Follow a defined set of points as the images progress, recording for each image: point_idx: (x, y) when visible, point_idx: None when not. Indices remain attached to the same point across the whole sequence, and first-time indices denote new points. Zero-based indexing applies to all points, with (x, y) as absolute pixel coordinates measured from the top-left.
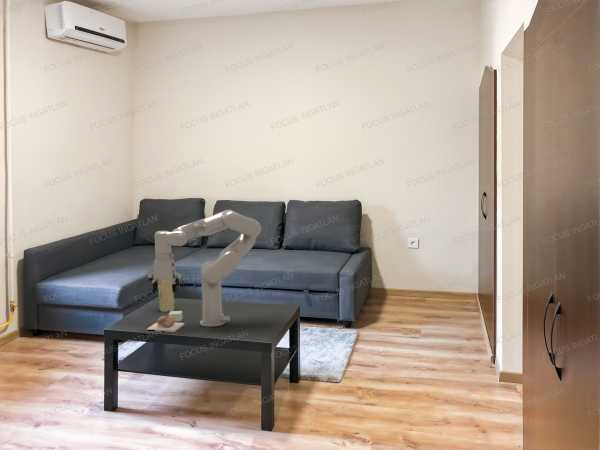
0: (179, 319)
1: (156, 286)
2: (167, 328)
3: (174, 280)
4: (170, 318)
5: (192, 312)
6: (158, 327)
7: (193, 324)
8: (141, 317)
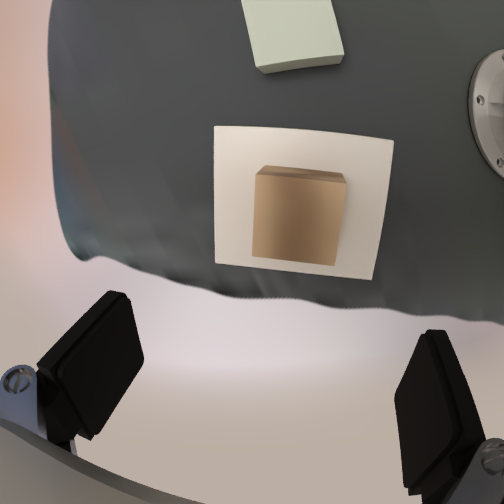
0: (335, 61)
1: (105, 363)
2: None
3: (462, 500)
4: (336, 234)
5: None
6: None
7: (439, 128)
8: (90, 47)
